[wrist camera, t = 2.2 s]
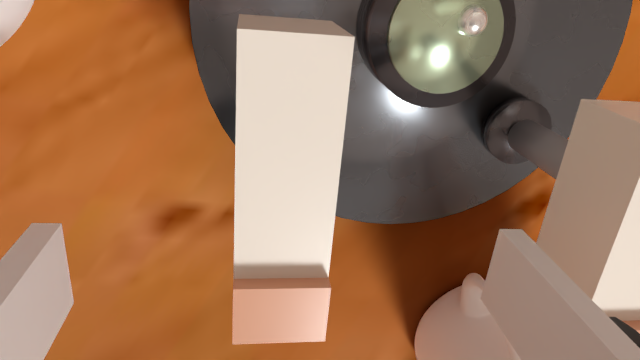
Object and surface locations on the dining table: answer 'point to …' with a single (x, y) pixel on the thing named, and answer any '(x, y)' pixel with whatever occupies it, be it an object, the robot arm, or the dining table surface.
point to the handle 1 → (287, 174)
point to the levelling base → (430, 137)
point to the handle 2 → (593, 201)
